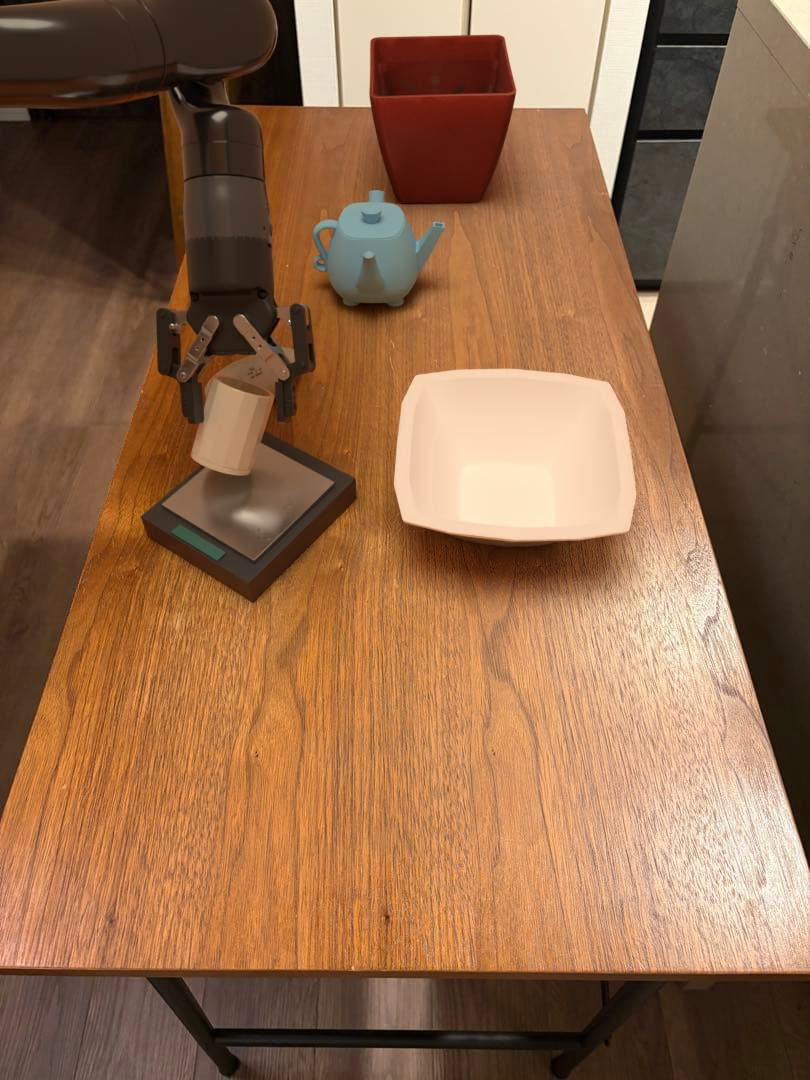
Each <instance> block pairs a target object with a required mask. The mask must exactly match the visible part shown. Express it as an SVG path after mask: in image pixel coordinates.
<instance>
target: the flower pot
mask: <svg viewBox="0 0 810 1080" xmlns="http://www.w3.org/2000/svg"><path fill="white" fill-rule="evenodd" d="M368 91H369V92H368V95H369V96H368V97H369V104H370V109H371V115H372V120H373V125H374V130H375V134H376V135H375V136H376V138H377V144H378V147H379V148H378V149H379V151H380V155H381V158H382V162H383V166H384V169H385V172H386V175H387V178H388V180H389V185H390V187H391V190H392V192H393V195H394V197H395V199H396V201H397V202H398V203H400V204H421V203H422V204H424V203H427V204H428V203H465V202H466V203H467V202H481V201H482V200H483V199H484V197H485V196H486V194H487V191H488V190H489V187H490V185H491V182H492V180H493V176H494V175H495V171H496V169H497V166H498V164H499V160H500V157H501V155H502V151H503V149H504V145H505V142H506V139H507V135H508V131H509V127H510V124H511V118H512V115H513V111H514V110H513V109H514V105H515V101H516V96H517V87H516V83H515V80H514V76H513V71H512V67H511V62H510V57H509V52H508V48H507V43H506V38H505V37H504V36H503V35H500V34H461V35H457V34H456V35H416V36H415V35H412V36H410V35H409V36H376V37H373V38H371V39H370V41H369V89H368Z"/></svg>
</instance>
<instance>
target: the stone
mask: <svg viewBox="0 0 810 1080" xmlns="http://www.w3.org/2000/svg"><path fill="white" fill-rule="evenodd" d="M280 347H281V348H282V350H283V351H284V354H285V356H286V357H287V358H288V359H289V361H290V362H291V363H293V362H295V356H294V348H291V347H287V346H280ZM214 375H225V376H231V377H235V378H239V379H242V380H245V381H248V382H251V383H254V384H257V385H259V386H261V387H263V388H265V389H267V390H269V391H270V392H272V393H273V394H274V397H276V394H275V382H278V377H277V376H276V374H275V373H274V372H273V371H272V369H271V368H270V367H269V365H268V364H267V363H266V362H265V361H263V360H262V359H261V358H260V356H259V355H258V354H256V355H246V356H245V357H241V358H240V359H237V360H235V361H233V362H232V363H230V364H228V365H226V366H224V367H222V368H221V369H220V370H219V371H217V372H216V373H215V374H214ZM211 380H212V377H210V379H209V381H207V384H206V386H205V388H204V398H205V400H206V397H207V394H208V390H209V387H210V383H211Z"/></svg>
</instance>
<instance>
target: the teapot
mask: <svg viewBox="0 0 810 1080" xmlns="http://www.w3.org/2000/svg"><path fill="white" fill-rule="evenodd" d="M385 195H386V193H385V191H383V190H380V189H373V190H372V189H371V190H369V191H368V201H366V202H365V201H364V202H353V203H351V204H349V205H347V206H346V207H344V209H343V210H342V211H341V212H340V215H339V218H338V219H337V220H336V219H324V220H321V221H320V222H318V223H317V224H316V225H315V226H314V228H313V231H312V239H313V243H314V246H315V248H316V250H317V252H318V255H315V257H314V258H313V261H312V263H313V264H312V265H313V268H314V269H315V270H316V271H318V272H320V273H327V278H328V280H329V283H330V285H331V287H332V288H333V290H334V291H335V293H337V295H339V296H340V298H342V302H343V304H344V305H346V306H348V307H354V306H355V307H356V306H358V305H359V304H360V303H363V304H383V303H384V304H385V303H386V305H388V306H389V307H399V306H402V305H403V304H404V298H405V297H406V296H408V294H409V293H410V292H411V290H412V289H413V288H414V285H415V283H416V282H417V280H418V277H419V274H420V272H422V271H423V269H424V267H425V266H426V264H427V262H428V260H429V259H430V257H431V255H432V253H433V251H434V250H435V247H436V246H437V244H438V242H439V240H440V238H441V237H442V235H443V233H444V231H445V227H446V226H445V225H446V223H445V222H441V221H440V222H439V221H433V222H432V223H431V226H430V227H429V228H428V229H427V230H426V231H425V232H424V233H423V235H422V236H421V237H420V239H419V240H416V237H415V234H414V231H413V230H412V227H411V225H410V223H409V221H408V218H407V216H406V215H405V213H404V211H403V210H402V208H401V207H400V206H398V205H397V204H395V203H390V202H385V200H386V199H385V198H386V197H385ZM329 229H332V230H333V231H332V234H331V236H330V240H329V243H328V249H327V250H326V247H325V246H324V244H323V242H322V240H321V236H320V233H321V232H322V231H324V230H329ZM319 261H322V262H323V263H320V262H319Z"/></svg>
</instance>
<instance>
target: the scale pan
mask: <svg viewBox="0 0 810 1080" xmlns="http://www.w3.org/2000/svg"><path fill="white" fill-rule="evenodd" d="M334 487H335V482H333V481H332V480H330V479H328V478H326V477H324V476H322V475H320V474H318V473H317V472H315V471H313V470H311V469H309V468H307V467H305V466H303V465H302V464H300V463H298V462H296V461H294V460H292V459H290V458H289V457H287V456H285V455H283V454H281V453H279V452H277V451H275V450H274V449H272V448H270V447H268V446H266V445H264V444H262V443H260V446H259V450H258V453H257V456H256V459H255V463H254V466H253V468H252V470H251V473H250V474H248V475H244V476H239V475H230V474H226V473H222V472H218V471H215V470H212V469H210V468H207V467H205V468H204V469H203V470H202V471H200V472H199V473H198V474H197V475H196V476H194V477H193V478H192V479H191V480H190V481H188V482H187V483H186V484H185V485H184V486H183V487H181V488H180V489H179V490H178V491H177V492H175V493H174V494H173V495H172V496H171V497H170V498H168V499H167V500H166V501H165V502H164V503H162V508H163V509H165V510H167V511H168V512H170V513H172V514H173V515H175V516H176V517H178V518H180V519H181V520H183V521H185V522H186V523H188V524H190V525H191V526H193V527H195V528H196V529H198V530H200V531H201V532H203V533H205V534H206V535H208V536H209V537H211V538H213V539H214V540H216V541H218V542H219V543H221V544H223V545H224V546H226V547H228V548H229V549H231V550H233V551H234V552H236V553H238V554H239V555H241V556H242V557H244V558H246V559H247V560H249V561H251V562H252V563H254V564H255V563H256V562H258V561H259V560H260V559H261V558H262V557H263V556H264V555H265V554H266V553H267V552H268V551H269V550H270V549H271V548H272V547H273V546H274V545H275V544H276V543H277V542H278V541H279V540H280V539H281V538H282V537H283V536H284V535H285V534H286V533H287V532H288V531H289V530H290V529H291V528H293V527H294V526H295V525H296V524H297V523H298V522H299V521H300V520H301V519H302V518H303V517H304V516H305V515H306V514H307V513H308V512H309V511H310V510H311V509H312V508H313V507H314V506H315V505H316V504H317V503H318V502H319V501H320V500H321V499H322V498H323V497H324V496H325V495H326V494H328V493H329V492H330V491H331V490H332V489H333V488H334Z"/></svg>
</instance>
